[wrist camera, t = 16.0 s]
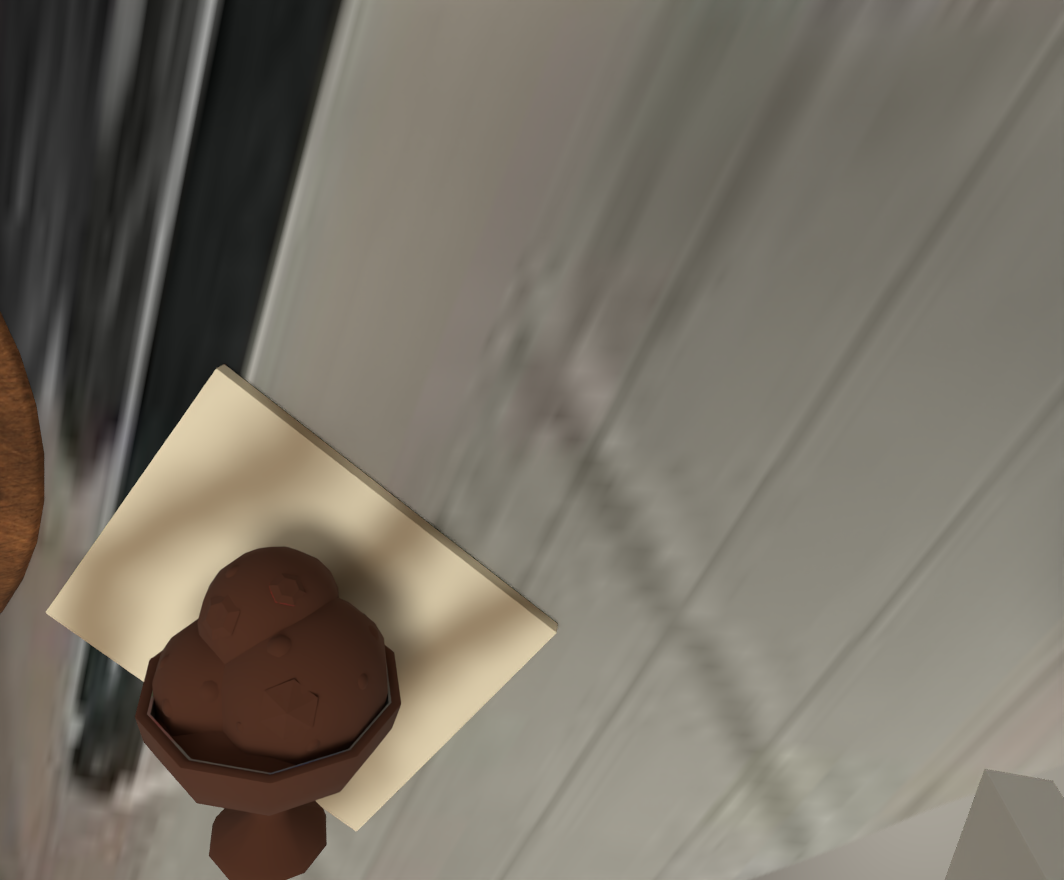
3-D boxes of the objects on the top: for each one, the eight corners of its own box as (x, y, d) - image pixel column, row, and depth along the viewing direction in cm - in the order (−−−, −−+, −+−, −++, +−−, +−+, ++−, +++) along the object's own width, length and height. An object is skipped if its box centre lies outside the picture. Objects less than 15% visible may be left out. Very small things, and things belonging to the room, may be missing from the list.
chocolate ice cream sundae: (88, 877, 37) (63, 598, 31) (255, 720, 46) (262, 484, 40) (288, 992, 34) (304, 707, 28) (422, 798, 43) (456, 556, 37)
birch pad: (557, 624, 41) (556, 632, 40) (360, 820, 46) (356, 831, 45) (224, 364, 38) (216, 368, 37) (55, 604, 43) (45, 612, 43)
